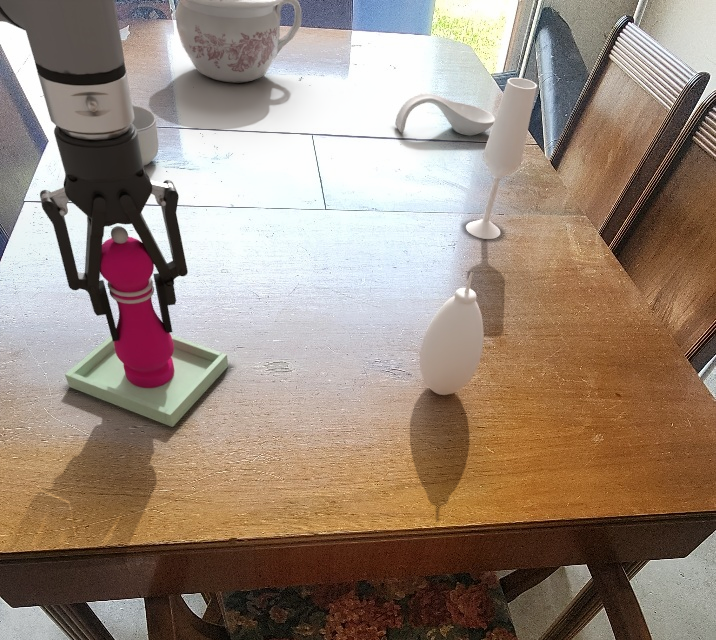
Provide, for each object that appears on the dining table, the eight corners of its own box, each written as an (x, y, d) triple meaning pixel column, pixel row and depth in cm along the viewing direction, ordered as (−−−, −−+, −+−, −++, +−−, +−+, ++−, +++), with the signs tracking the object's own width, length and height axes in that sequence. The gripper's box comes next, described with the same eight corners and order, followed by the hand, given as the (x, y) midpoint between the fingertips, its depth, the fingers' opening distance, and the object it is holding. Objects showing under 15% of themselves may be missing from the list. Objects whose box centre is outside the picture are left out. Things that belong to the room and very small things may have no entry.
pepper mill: (126, 395, 78) (86, 248, 62) (118, 360, 81) (78, 213, 66) (183, 385, 80) (158, 240, 64) (172, 352, 84) (146, 207, 68)
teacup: (165, 151, 123) (159, 106, 116) (158, 175, 116) (151, 129, 110) (94, 146, 121) (83, 100, 115) (82, 170, 114) (71, 123, 108)
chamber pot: (153, 75, 147) (136, -37, 130) (212, 47, 163) (204, -56, 147) (255, 103, 142) (251, -10, 126) (306, 72, 158) (308, -32, 142)
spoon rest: (480, 120, 149) (488, 86, 143) (499, 140, 142) (508, 106, 137) (389, 120, 143) (394, 85, 138) (405, 141, 137) (410, 105, 131)
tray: (69, 387, 78) (64, 374, 77) (132, 331, 86) (129, 319, 85) (172, 427, 76) (170, 415, 74) (228, 366, 84) (227, 354, 82)
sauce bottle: (451, 367, 88) (483, 251, 74) (478, 401, 84) (517, 285, 70) (404, 377, 86) (427, 259, 72) (429, 413, 82) (459, 295, 68)
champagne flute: (465, 235, 113) (501, 87, 94) (466, 218, 117) (501, 72, 98) (500, 241, 113) (544, 93, 94) (500, 224, 117) (541, 79, 98)
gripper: (-13, 147, 52) (64, 361, 70) (202, 134, 58) (222, 336, 76) (-17, 113, 56) (57, 324, 75) (185, 104, 62) (208, 302, 80)
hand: (141, 330), depth 75 cm, fingers closed on pepper mill, 6 cm apart
